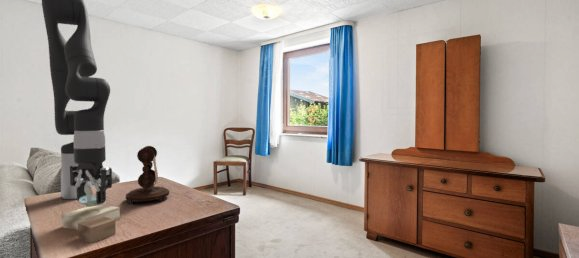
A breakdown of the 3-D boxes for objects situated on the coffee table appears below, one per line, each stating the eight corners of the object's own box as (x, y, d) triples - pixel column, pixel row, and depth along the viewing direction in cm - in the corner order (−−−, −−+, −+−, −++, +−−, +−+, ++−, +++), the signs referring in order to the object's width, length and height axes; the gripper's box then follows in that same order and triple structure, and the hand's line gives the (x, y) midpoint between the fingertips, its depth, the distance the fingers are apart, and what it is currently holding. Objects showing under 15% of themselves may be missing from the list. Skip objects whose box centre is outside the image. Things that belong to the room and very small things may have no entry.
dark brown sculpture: (167, 203, 102) (166, 148, 101) (121, 207, 97) (119, 149, 96) (171, 192, 116) (170, 144, 115) (130, 195, 111) (129, 145, 110)
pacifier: (99, 200, 88) (76, 204, 83) (100, 180, 87) (77, 183, 83) (110, 205, 83) (86, 209, 78) (110, 184, 83) (87, 187, 78)
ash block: (61, 228, 80) (61, 214, 79) (96, 216, 89) (95, 204, 89) (87, 233, 76) (86, 218, 76) (119, 220, 86) (119, 207, 86)
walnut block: (78, 238, 73) (77, 223, 73) (102, 230, 78) (102, 216, 78) (91, 243, 70) (90, 227, 70) (115, 234, 75) (115, 219, 75)
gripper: (58, 146, 80) (60, 203, 81) (95, 148, 76) (96, 208, 77) (85, 143, 88) (86, 196, 88) (120, 145, 83) (121, 200, 84)
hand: (91, 201), depth 83 cm, fingers closed on pacifier, 7 cm apart
